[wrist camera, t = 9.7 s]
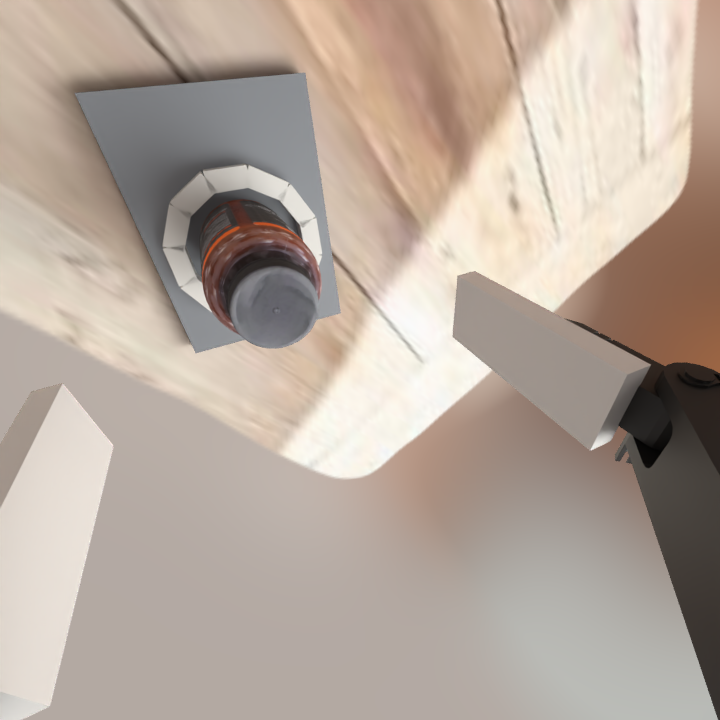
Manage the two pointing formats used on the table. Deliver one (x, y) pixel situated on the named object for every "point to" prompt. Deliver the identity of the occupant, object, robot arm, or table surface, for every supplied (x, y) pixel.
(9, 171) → the table surface
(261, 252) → the supplement bottle
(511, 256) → the table surface
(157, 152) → the hub board
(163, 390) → the table surface
